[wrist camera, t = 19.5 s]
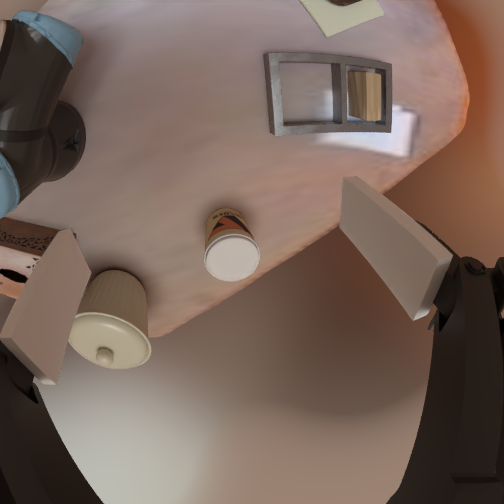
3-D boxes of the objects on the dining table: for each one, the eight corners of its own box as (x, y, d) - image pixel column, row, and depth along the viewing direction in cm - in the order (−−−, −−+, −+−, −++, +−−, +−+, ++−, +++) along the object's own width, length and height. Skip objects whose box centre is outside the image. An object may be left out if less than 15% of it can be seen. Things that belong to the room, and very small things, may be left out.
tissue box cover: (76, 233, 48) (59, 261, 40) (77, 283, 55) (66, 313, 47) (-8, 213, 39) (-30, 236, 31) (-1, 262, 46) (-17, 287, 38)
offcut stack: (348, 115, 45) (366, 120, 40) (347, 71, 40) (366, 71, 34) (366, 115, 45) (385, 121, 40) (366, 73, 40) (385, 74, 35)
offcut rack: (270, 132, 45) (275, 135, 42) (263, 55, 36) (268, 52, 33) (381, 129, 47) (391, 132, 44) (381, 63, 39) (391, 63, 36)
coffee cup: (250, 204, 52) (264, 236, 43) (246, 244, 57) (257, 282, 48) (202, 204, 50) (204, 236, 41) (201, 245, 55) (204, 284, 46)
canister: (76, 293, 56) (52, 363, 39) (101, 242, 50) (71, 317, 33) (136, 324, 65) (128, 394, 48) (170, 282, 59) (168, 360, 42)
